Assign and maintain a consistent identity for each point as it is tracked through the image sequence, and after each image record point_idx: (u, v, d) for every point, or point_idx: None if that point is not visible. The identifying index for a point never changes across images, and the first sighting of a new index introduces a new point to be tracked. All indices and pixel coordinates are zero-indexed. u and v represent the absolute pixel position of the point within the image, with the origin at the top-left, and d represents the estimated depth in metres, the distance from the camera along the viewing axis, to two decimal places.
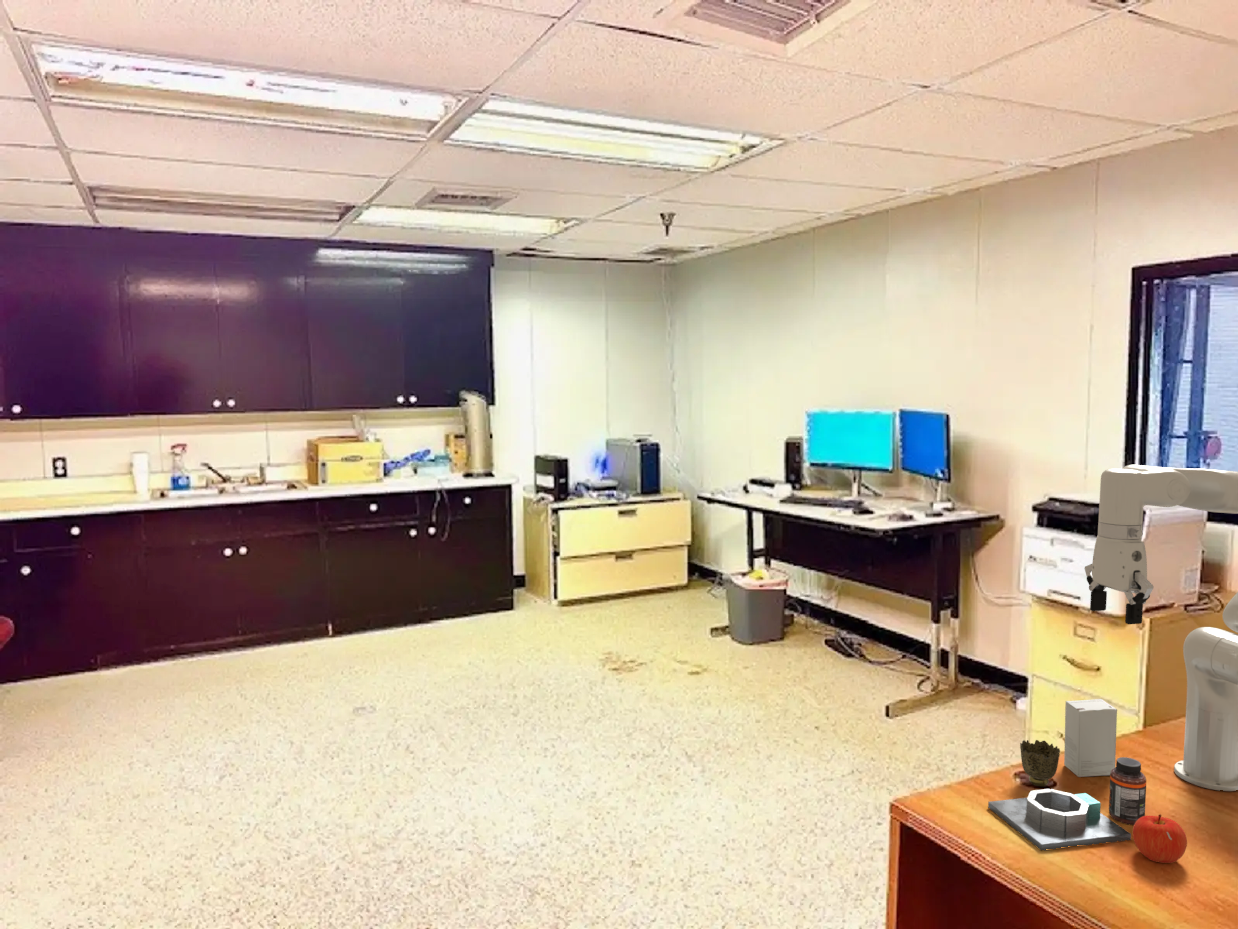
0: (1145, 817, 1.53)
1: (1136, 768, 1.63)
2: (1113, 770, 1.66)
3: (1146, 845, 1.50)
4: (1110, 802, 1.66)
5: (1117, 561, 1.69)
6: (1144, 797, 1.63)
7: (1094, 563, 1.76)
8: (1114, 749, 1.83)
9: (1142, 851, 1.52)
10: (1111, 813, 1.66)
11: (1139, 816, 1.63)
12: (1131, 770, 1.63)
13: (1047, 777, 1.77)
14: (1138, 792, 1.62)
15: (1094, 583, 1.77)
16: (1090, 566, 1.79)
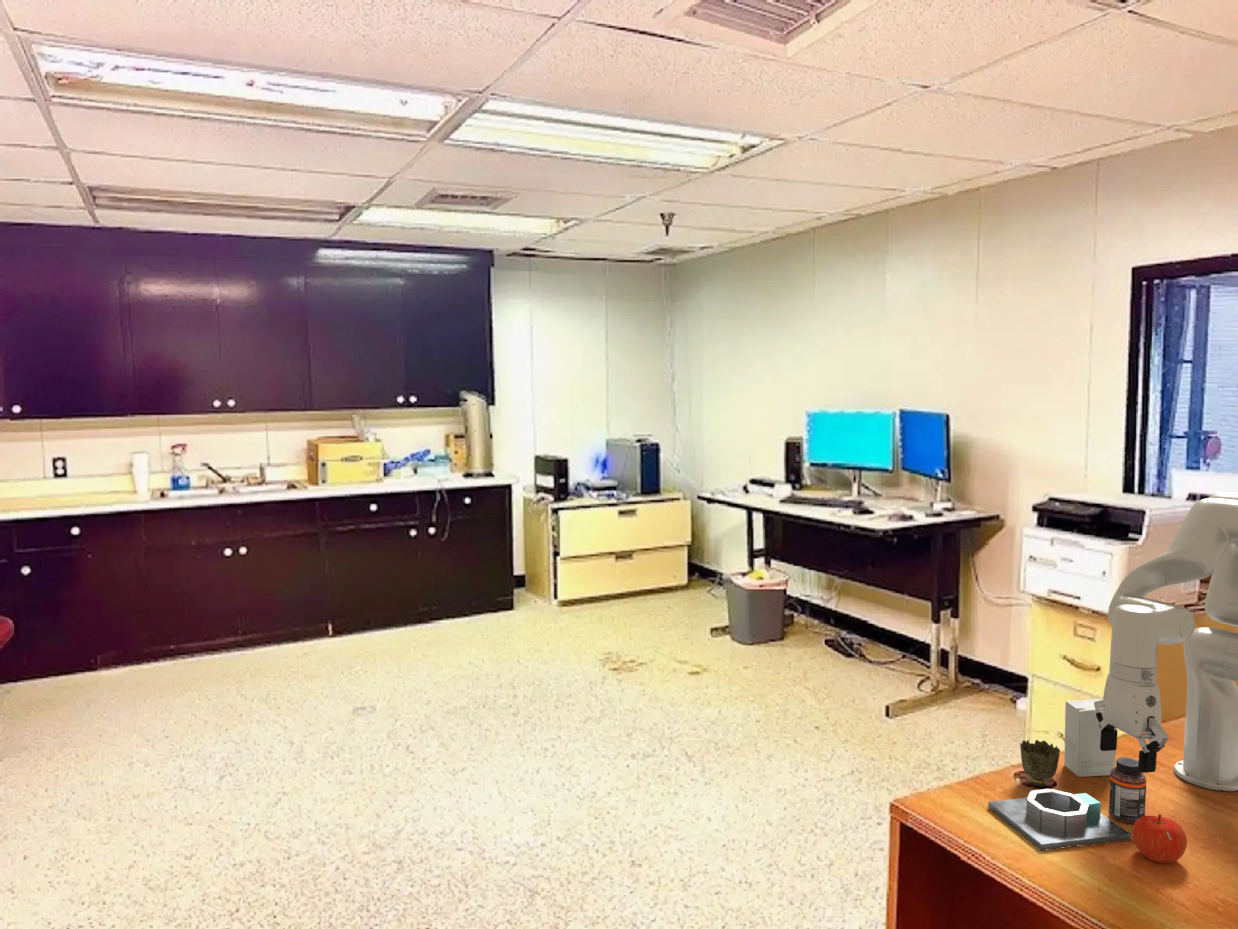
0: (1145, 817, 1.53)
1: (1136, 768, 1.63)
2: (1113, 770, 1.66)
3: (1146, 845, 1.50)
4: (1110, 802, 1.66)
5: (1130, 705, 1.60)
6: (1144, 797, 1.63)
7: (1105, 702, 1.67)
8: None
9: (1142, 851, 1.52)
10: (1111, 813, 1.66)
11: (1139, 816, 1.63)
12: (1131, 770, 1.63)
13: (1047, 777, 1.77)
14: (1138, 792, 1.62)
15: (1104, 722, 1.68)
16: (1100, 702, 1.70)
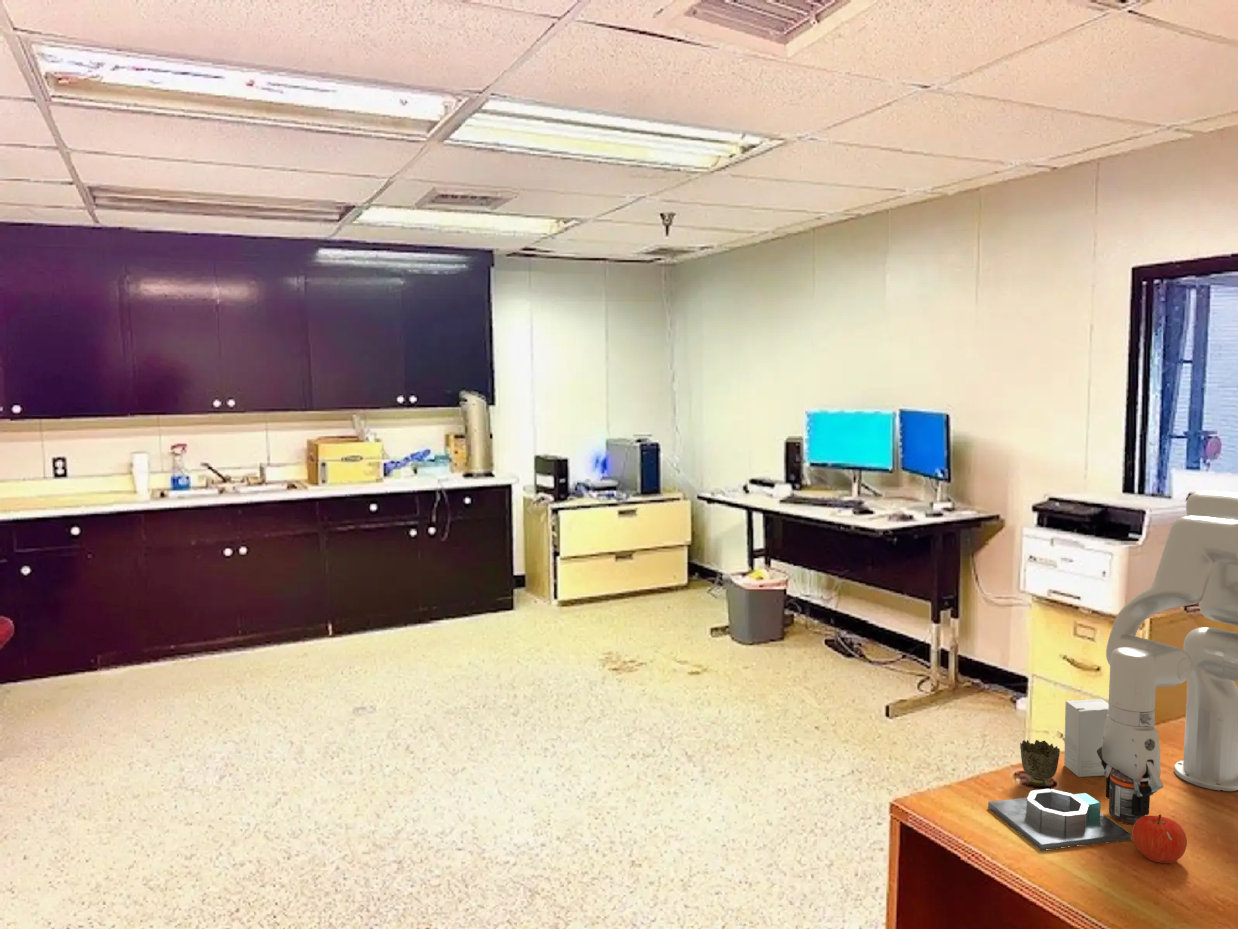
0: (1145, 817, 1.53)
1: None
2: (1113, 770, 1.66)
3: (1146, 845, 1.50)
4: (1110, 802, 1.66)
5: (1129, 748, 1.61)
6: None
7: (1104, 743, 1.68)
8: None
9: (1142, 851, 1.52)
10: (1111, 813, 1.66)
11: (1139, 816, 1.63)
12: None
13: (1047, 777, 1.77)
14: None
15: (1108, 768, 1.68)
16: (1102, 749, 1.71)
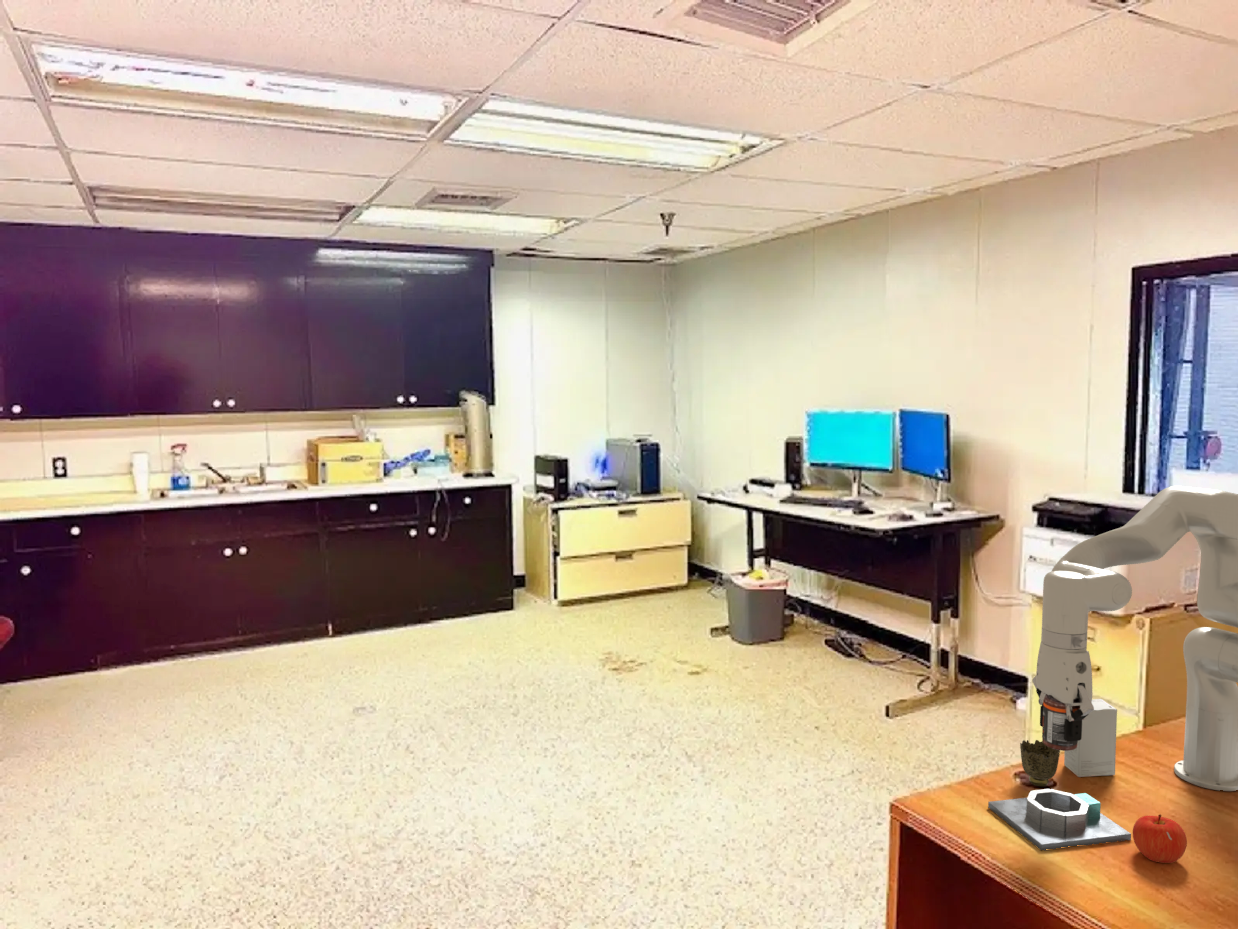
0: (1145, 817, 1.53)
1: None
2: (1046, 696, 1.63)
3: (1146, 845, 1.50)
4: (1043, 729, 1.63)
5: (1061, 672, 1.58)
6: None
7: (1038, 670, 1.65)
8: (1114, 749, 1.83)
9: (1142, 851, 1.52)
10: (1044, 740, 1.63)
11: (1071, 741, 1.60)
12: None
13: (1047, 777, 1.77)
14: None
15: (1042, 695, 1.65)
16: None
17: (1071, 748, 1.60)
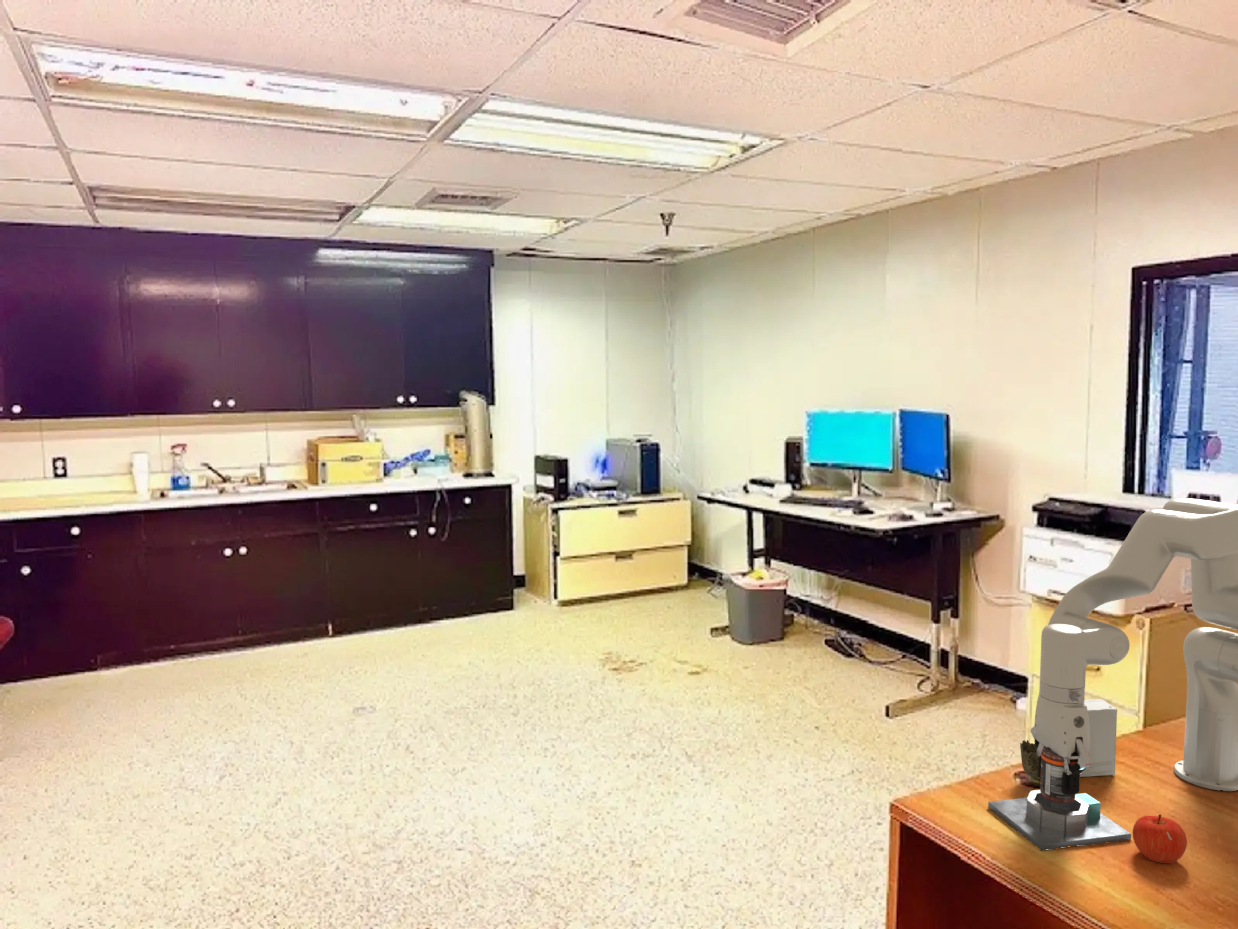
0: (1145, 817, 1.53)
1: None
2: (1044, 748, 1.64)
3: (1146, 845, 1.50)
4: (1041, 780, 1.64)
5: (1059, 725, 1.59)
6: None
7: (1036, 721, 1.66)
8: (1114, 749, 1.83)
9: (1142, 851, 1.52)
10: (1042, 792, 1.64)
11: (1069, 794, 1.61)
12: None
13: None
14: None
15: (1040, 747, 1.66)
16: None
17: (1069, 801, 1.61)
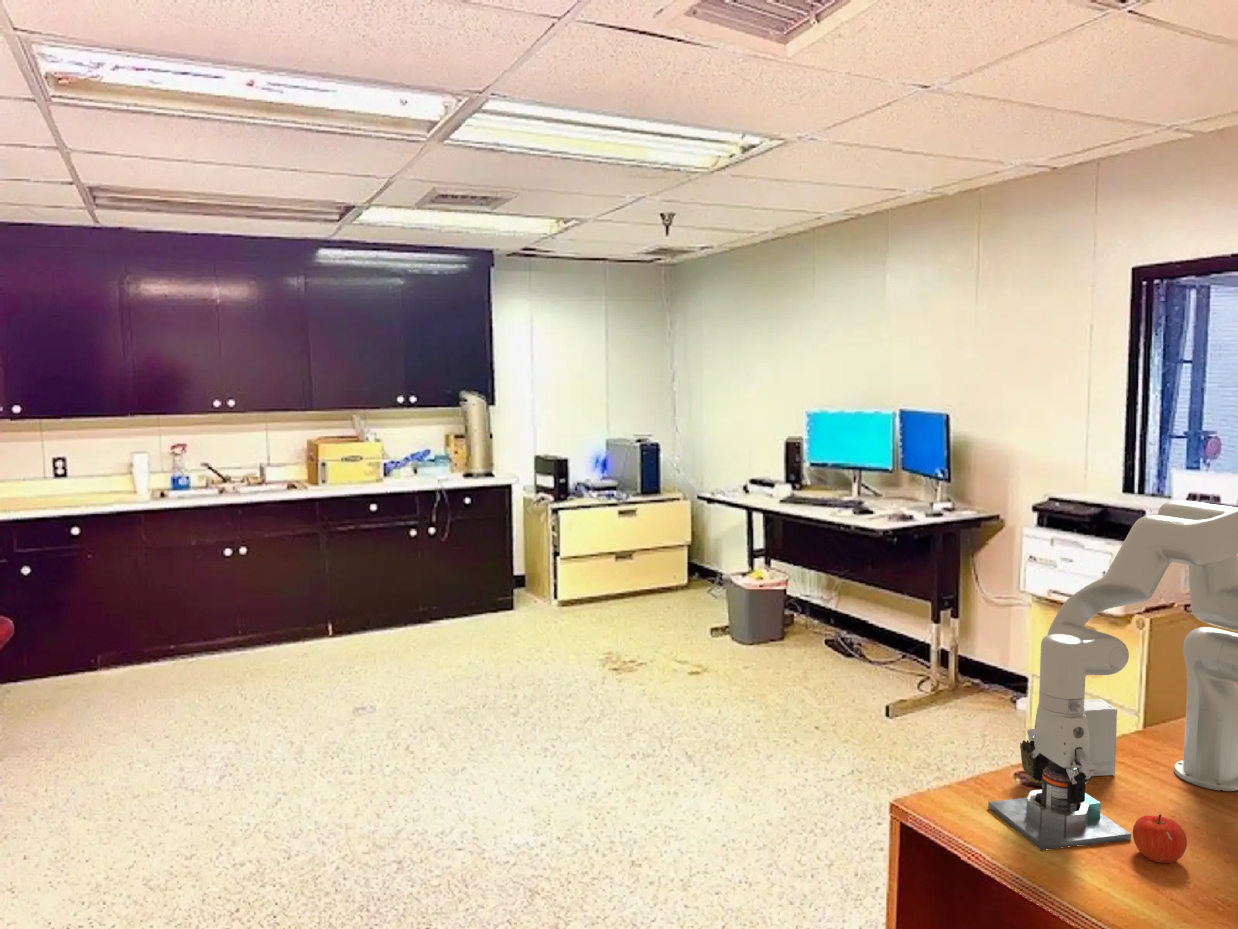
0: (1145, 817, 1.53)
1: None
2: (1045, 768, 1.64)
3: (1146, 845, 1.50)
4: (1042, 800, 1.65)
5: (1058, 736, 1.60)
6: None
7: (1036, 731, 1.66)
8: (1114, 749, 1.83)
9: (1142, 851, 1.52)
10: None
11: None
12: (1062, 768, 1.61)
13: None
14: None
15: (1037, 751, 1.67)
16: (1033, 731, 1.70)
17: None
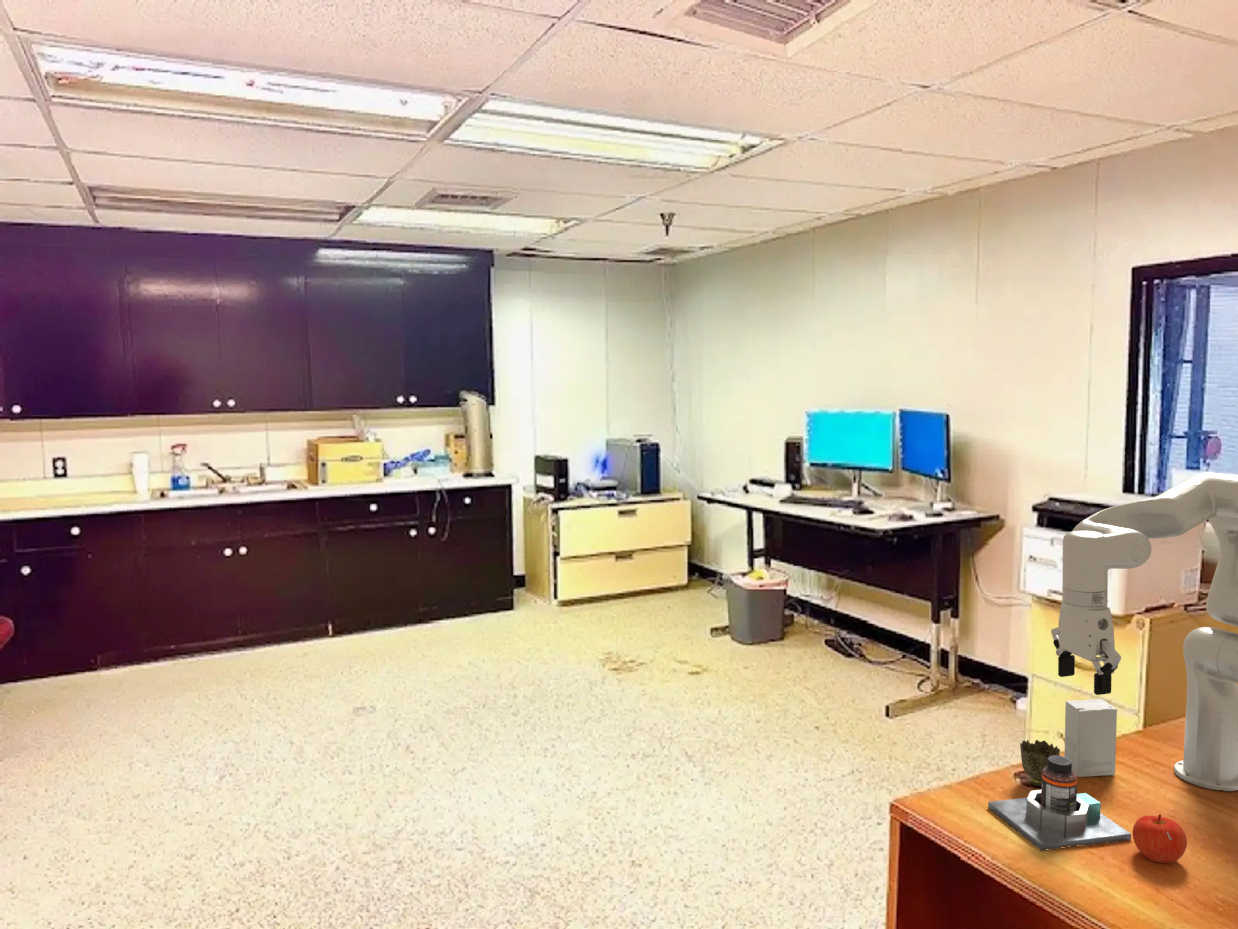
0: (1145, 817, 1.53)
1: (1066, 767, 1.61)
2: (1045, 768, 1.64)
3: (1146, 845, 1.50)
4: (1042, 800, 1.65)
5: (1083, 629, 1.62)
6: (1075, 796, 1.61)
7: (1060, 628, 1.69)
8: (1114, 749, 1.83)
9: (1142, 851, 1.52)
10: None
11: None
12: (1061, 768, 1.61)
13: None
14: (1068, 791, 1.61)
15: (1061, 648, 1.70)
16: (1056, 629, 1.72)
17: None
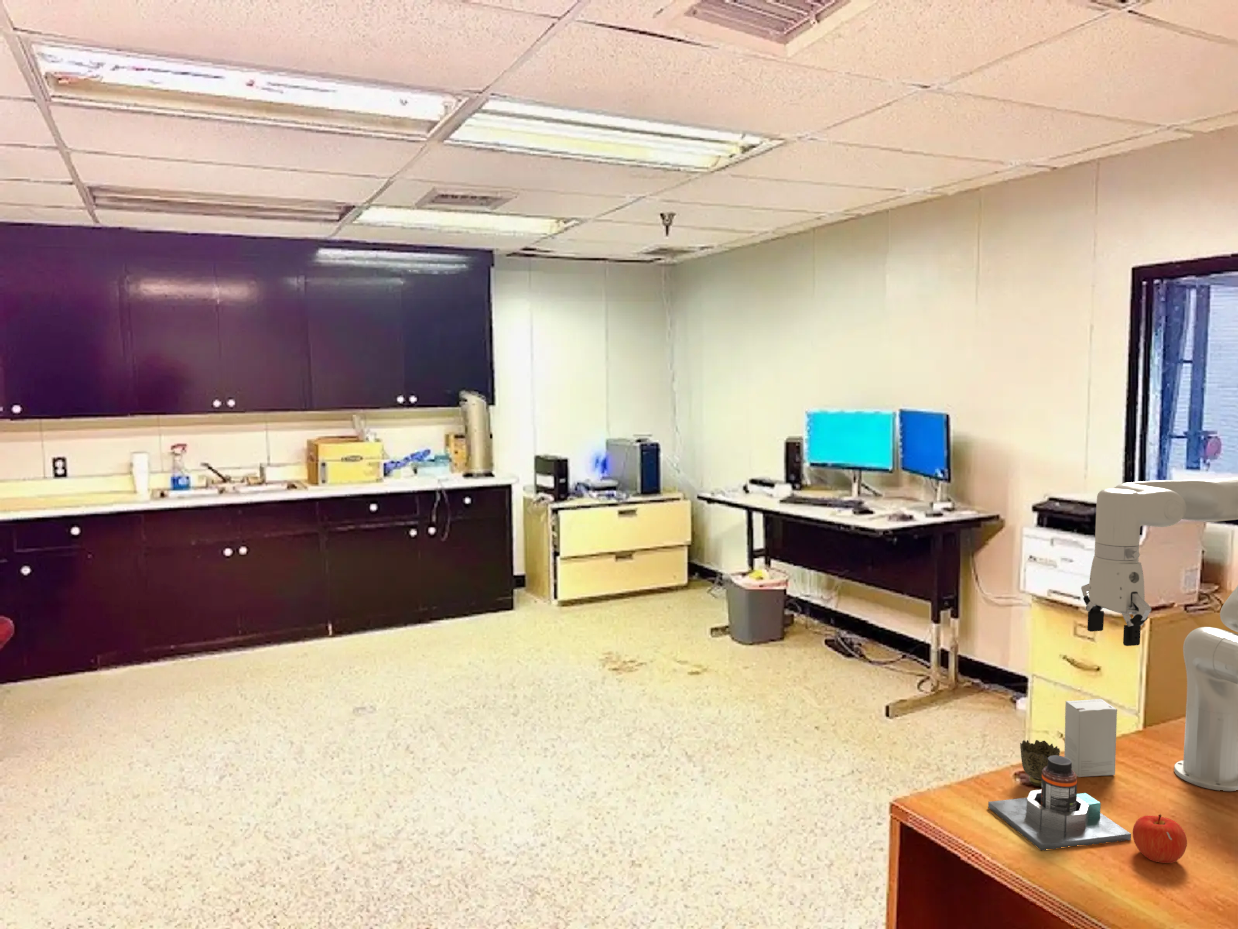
0: (1145, 817, 1.53)
1: (1065, 767, 1.61)
2: (1044, 768, 1.65)
3: (1146, 845, 1.50)
4: (1041, 800, 1.65)
5: (1114, 582, 1.68)
6: (1074, 796, 1.61)
7: (1091, 583, 1.74)
8: (1114, 749, 1.83)
9: (1142, 851, 1.52)
10: None
11: None
12: (1060, 768, 1.61)
13: None
14: (1068, 791, 1.61)
15: (1091, 603, 1.76)
16: (1087, 586, 1.78)
17: None
